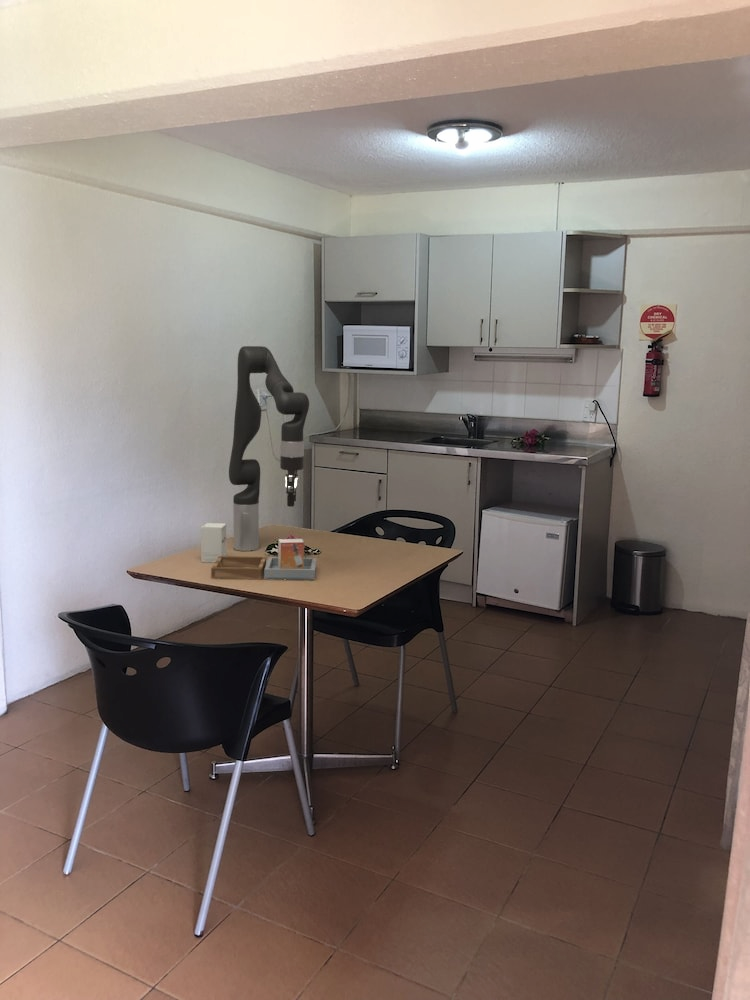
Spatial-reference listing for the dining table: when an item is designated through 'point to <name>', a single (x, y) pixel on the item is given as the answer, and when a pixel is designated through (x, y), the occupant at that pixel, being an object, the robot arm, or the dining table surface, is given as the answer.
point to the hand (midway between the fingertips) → (291, 503)
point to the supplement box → (213, 541)
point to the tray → (290, 570)
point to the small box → (290, 554)
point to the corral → (250, 573)
